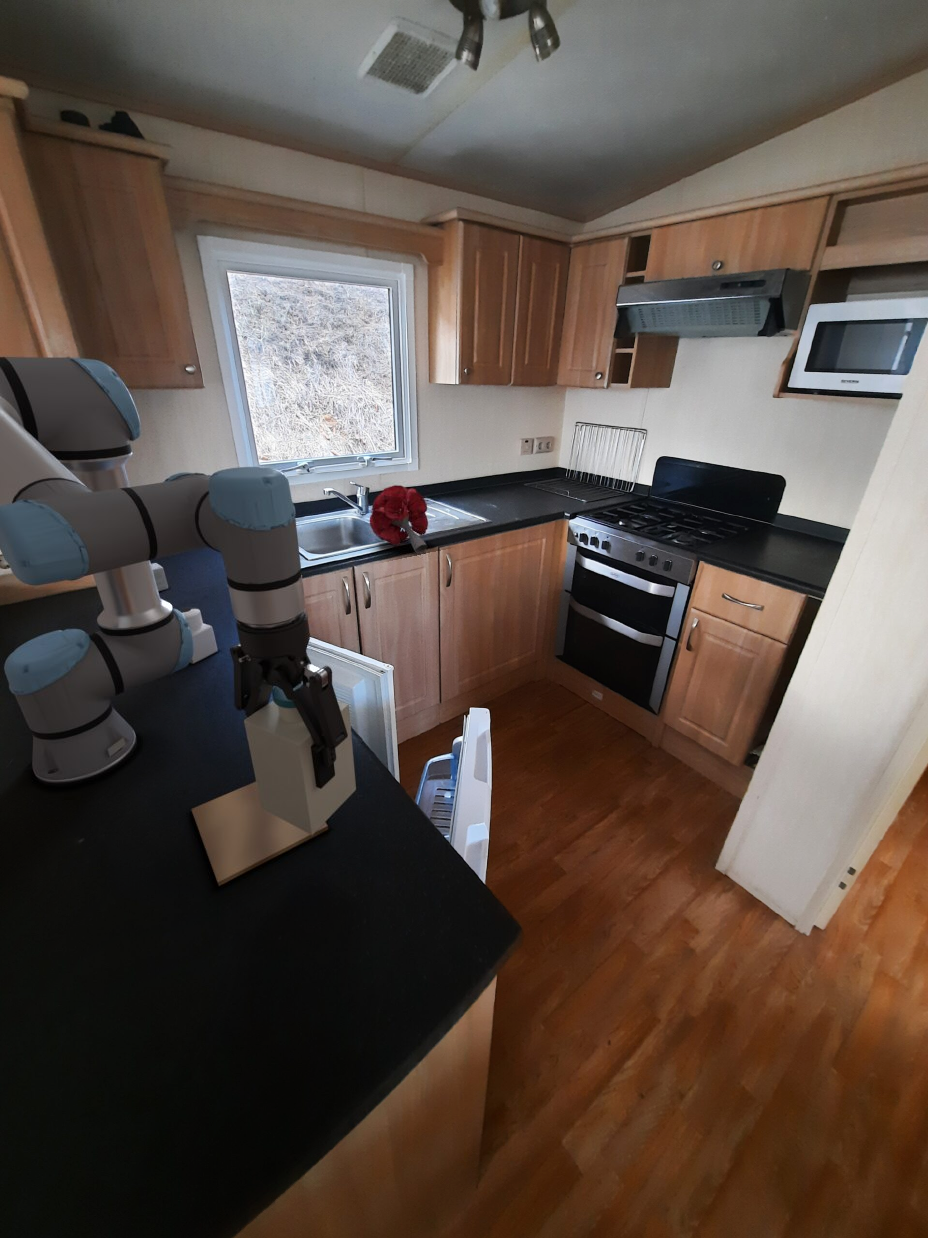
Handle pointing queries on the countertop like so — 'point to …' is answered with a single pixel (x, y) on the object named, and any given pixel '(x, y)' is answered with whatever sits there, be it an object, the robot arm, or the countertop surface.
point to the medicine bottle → (199, 634)
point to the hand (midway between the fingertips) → (297, 767)
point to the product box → (159, 577)
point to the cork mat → (244, 833)
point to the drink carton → (296, 765)
